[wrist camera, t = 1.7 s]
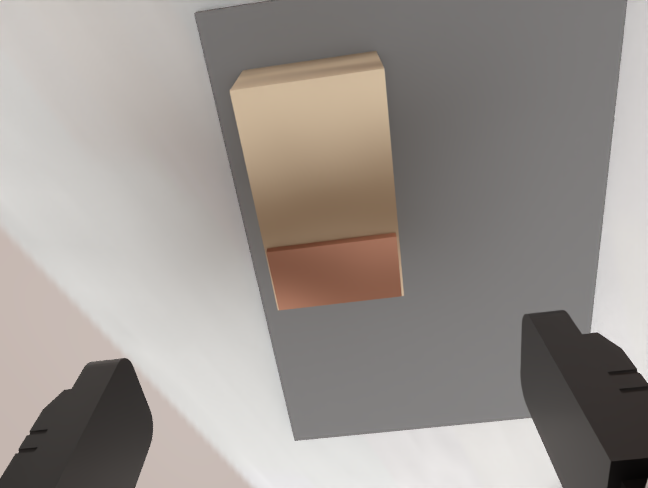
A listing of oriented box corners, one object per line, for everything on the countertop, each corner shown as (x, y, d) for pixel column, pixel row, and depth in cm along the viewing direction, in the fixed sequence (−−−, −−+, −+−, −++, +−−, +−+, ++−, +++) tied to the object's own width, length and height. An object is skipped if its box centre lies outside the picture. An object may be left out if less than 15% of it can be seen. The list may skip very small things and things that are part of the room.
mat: (197, 12, 19) (194, 13, 18) (625, -55, 18) (633, -55, 17) (295, 432, 28) (294, 440, 28) (577, 405, 27) (581, 412, 27)
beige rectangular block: (242, 70, 19) (227, 93, 16) (376, 50, 19) (385, 70, 16) (283, 267, 23) (277, 315, 20) (394, 254, 22) (405, 300, 20)
